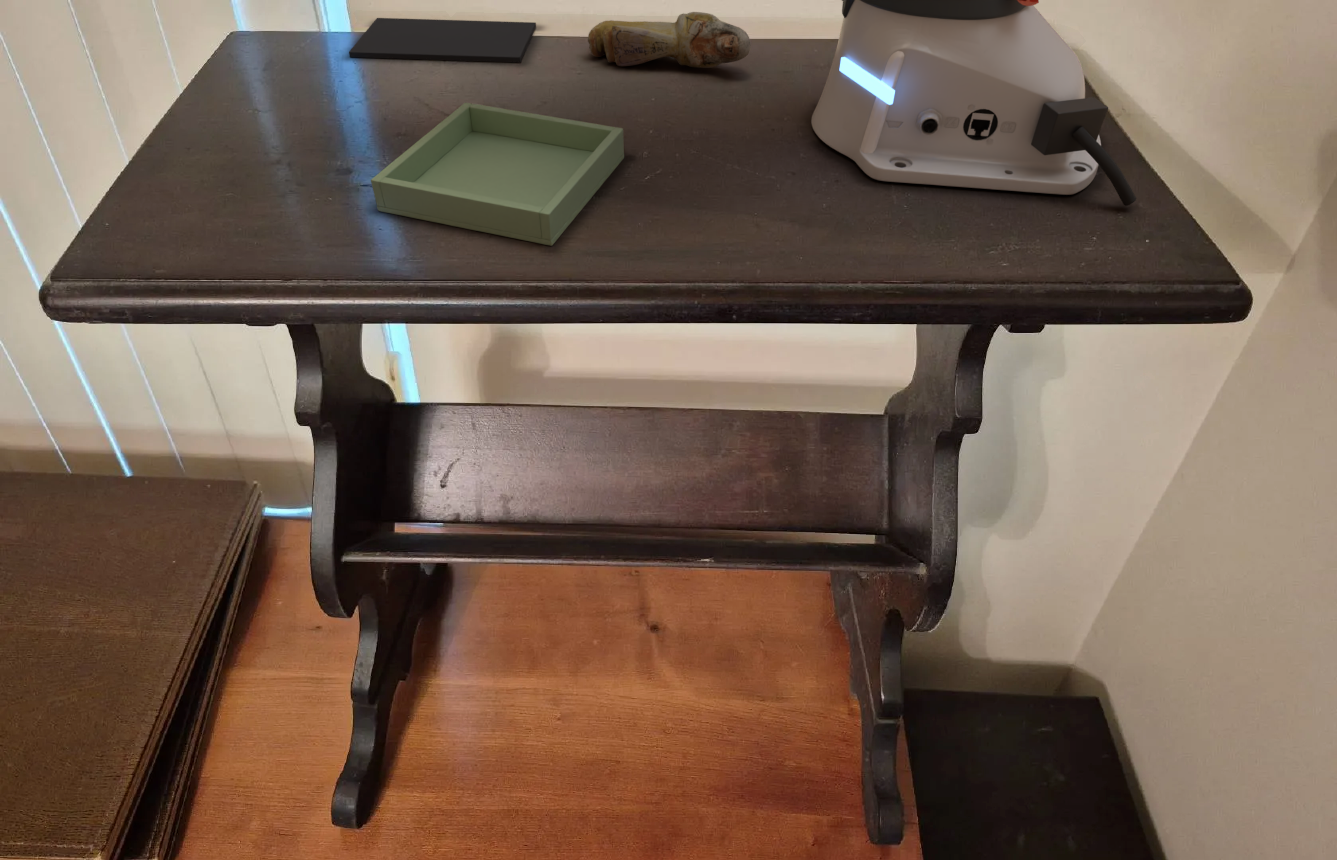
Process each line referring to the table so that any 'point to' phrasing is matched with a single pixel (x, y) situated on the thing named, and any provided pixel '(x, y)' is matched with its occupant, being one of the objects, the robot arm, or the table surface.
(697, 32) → the figurine
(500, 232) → the tray
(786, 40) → the table surface
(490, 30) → the mat
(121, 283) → the table surface
